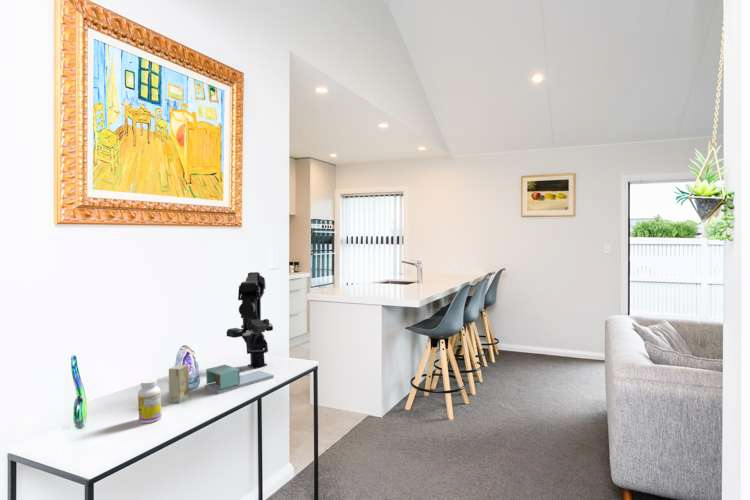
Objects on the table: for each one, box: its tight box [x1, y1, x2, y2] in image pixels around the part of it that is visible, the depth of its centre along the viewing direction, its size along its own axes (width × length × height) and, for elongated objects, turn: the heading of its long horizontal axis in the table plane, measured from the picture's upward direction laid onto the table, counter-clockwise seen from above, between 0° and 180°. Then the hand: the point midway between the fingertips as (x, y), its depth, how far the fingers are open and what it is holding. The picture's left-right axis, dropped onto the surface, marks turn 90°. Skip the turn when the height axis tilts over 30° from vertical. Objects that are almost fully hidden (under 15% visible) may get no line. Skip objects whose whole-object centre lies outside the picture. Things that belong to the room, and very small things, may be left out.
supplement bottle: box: [137, 378, 163, 424], centre depth 153 cm, size 7×7×13 cm
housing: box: [205, 364, 241, 389], centre depth 185 cm, size 11×8×6 cm
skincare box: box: [168, 364, 190, 404], centre depth 171 cm, size 6×4×12 cm
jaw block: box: [215, 374, 220, 386], centre depth 185 cm, size 4×4×5 cm
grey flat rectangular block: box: [204, 370, 275, 394], centre depth 190 cm, size 10×25×3 cm, turn 138°
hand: (251, 350), depth 194 cm, fingers closed
